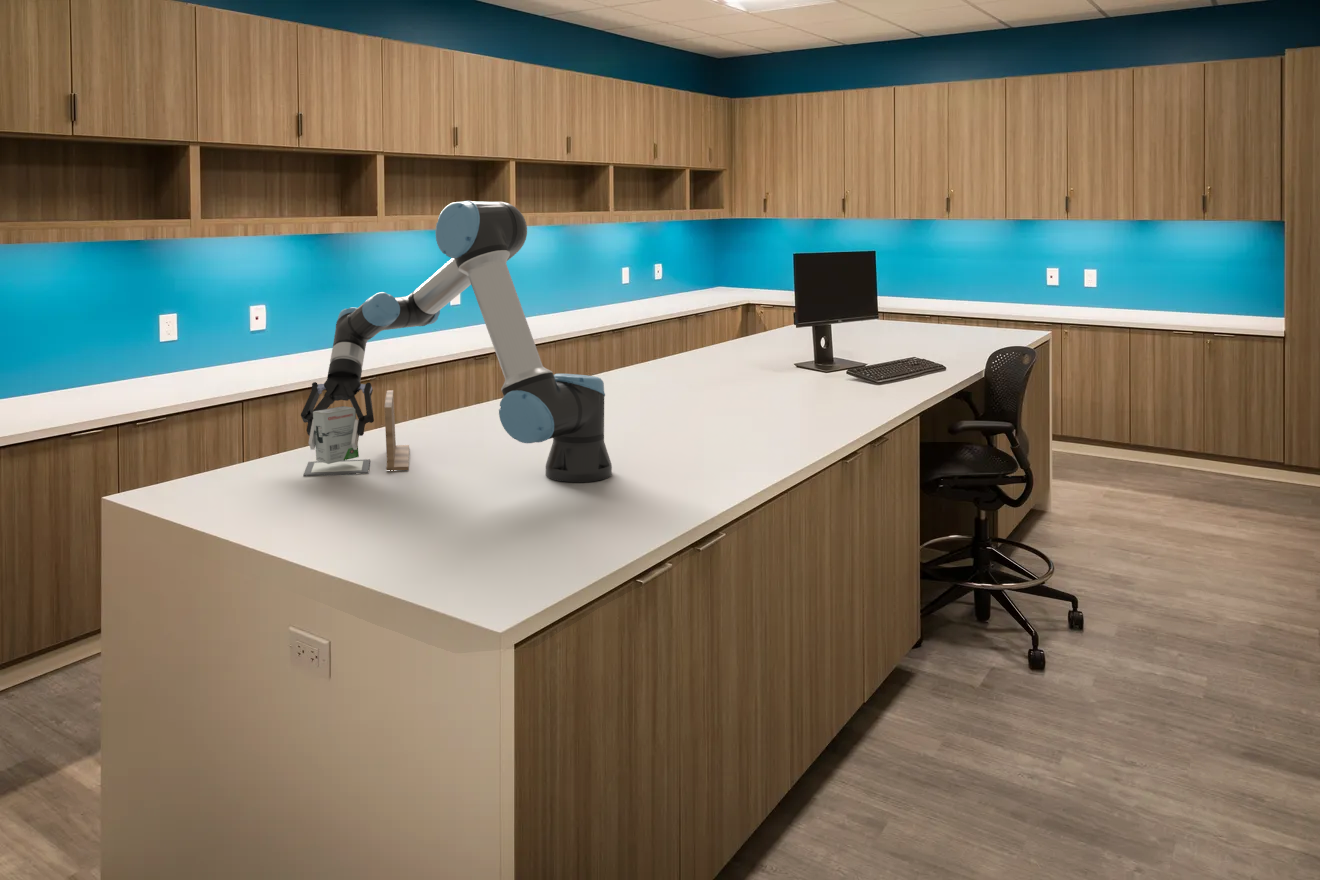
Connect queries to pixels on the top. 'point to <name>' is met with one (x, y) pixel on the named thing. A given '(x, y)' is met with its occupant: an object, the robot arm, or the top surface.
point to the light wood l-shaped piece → (395, 453)
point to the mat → (337, 467)
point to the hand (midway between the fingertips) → (332, 446)
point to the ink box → (334, 434)
